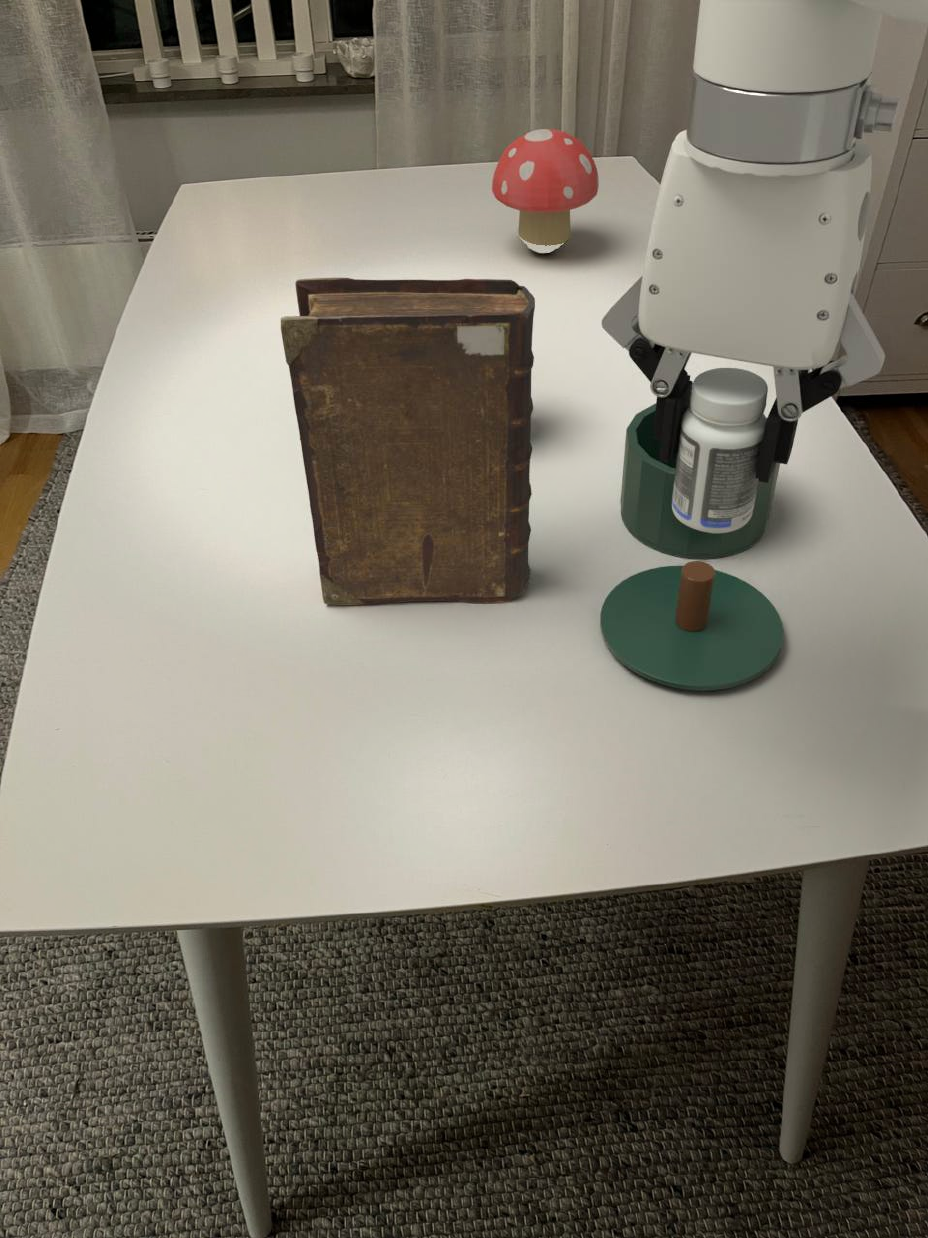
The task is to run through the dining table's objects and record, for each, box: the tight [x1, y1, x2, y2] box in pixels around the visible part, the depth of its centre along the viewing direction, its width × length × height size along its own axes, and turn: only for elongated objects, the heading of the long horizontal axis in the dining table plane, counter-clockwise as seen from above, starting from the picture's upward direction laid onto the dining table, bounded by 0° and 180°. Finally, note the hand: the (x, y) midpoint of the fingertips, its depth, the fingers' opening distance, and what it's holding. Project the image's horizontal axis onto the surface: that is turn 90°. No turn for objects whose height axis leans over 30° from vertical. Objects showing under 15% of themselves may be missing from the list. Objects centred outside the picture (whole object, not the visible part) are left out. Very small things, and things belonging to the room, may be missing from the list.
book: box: [280, 277, 536, 606], centre depth 75 cm, size 17×7×25 cm, turn 83°
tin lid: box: [599, 560, 784, 692], centre depth 76 cm, size 14×14×6 cm
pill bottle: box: [672, 367, 769, 533], centre depth 57 cm, size 5×5×8 cm
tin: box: [619, 403, 781, 560], centre depth 87 cm, size 13×13×8 cm
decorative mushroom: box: [491, 128, 600, 246], centre depth 128 cm, size 13×13×15 cm
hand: (719, 456), depth 58 cm, fingers closed on pill bottle, 4 cm apart
